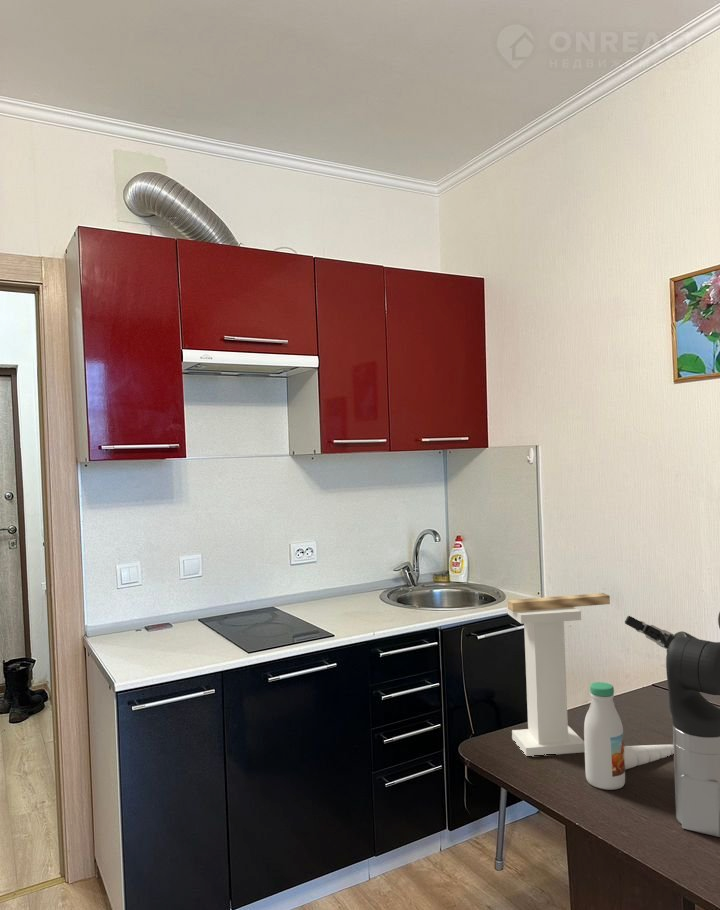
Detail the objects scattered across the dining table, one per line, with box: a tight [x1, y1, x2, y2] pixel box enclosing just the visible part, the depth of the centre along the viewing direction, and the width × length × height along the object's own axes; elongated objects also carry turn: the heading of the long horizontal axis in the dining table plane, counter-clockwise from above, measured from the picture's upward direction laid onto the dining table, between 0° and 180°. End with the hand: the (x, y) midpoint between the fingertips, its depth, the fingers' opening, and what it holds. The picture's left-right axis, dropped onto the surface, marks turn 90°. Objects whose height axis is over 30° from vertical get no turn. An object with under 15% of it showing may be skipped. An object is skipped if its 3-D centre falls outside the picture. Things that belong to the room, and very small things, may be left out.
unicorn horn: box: [624, 744, 674, 771], centre depth 151 cm, size 5×24×5 cm, turn 109°
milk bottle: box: [583, 681, 626, 791], centre depth 142 cm, size 8×8×20 cm
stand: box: [506, 604, 585, 757], centre depth 160 cm, size 14×10×32 cm
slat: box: [507, 592, 611, 612], centre depth 161 cm, size 24×3×2 cm, turn 99°
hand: (635, 623), depth 162 cm, fingers open, 8 cm apart
